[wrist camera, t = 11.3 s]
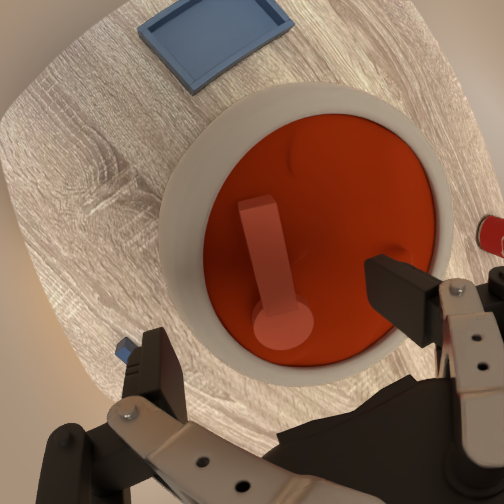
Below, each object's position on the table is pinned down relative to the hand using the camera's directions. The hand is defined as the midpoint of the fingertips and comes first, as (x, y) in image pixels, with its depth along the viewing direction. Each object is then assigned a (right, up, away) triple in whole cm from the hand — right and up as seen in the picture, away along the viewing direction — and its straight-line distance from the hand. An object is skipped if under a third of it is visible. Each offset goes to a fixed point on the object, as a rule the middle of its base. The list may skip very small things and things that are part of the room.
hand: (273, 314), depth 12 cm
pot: (+2, +7, +25) cm, 26 cm away
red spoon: (0, +1, +7) cm, 7 cm away
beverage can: (+40, +6, +34) cm, 53 cm away
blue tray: (-5, +26, +17) cm, 32 cm away
